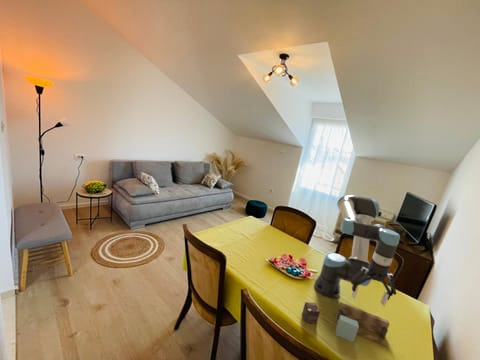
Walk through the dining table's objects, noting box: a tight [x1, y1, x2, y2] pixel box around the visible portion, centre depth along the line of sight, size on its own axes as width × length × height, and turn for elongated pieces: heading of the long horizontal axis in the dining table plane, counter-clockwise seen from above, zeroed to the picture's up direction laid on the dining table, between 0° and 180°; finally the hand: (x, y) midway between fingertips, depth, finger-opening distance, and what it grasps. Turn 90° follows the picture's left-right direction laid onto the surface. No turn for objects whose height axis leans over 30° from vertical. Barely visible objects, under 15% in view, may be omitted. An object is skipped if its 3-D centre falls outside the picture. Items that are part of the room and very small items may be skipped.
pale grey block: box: [335, 315, 360, 343], centre depth 110 cm, size 8×4×9 cm, turn 69°
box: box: [302, 301, 321, 325], centre depth 118 cm, size 6×6×7 cm
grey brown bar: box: [335, 301, 391, 347], centre depth 116 cm, size 23×8×8 cm, turn 69°
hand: (367, 300), depth 111 cm, fingers open, 13 cm apart
